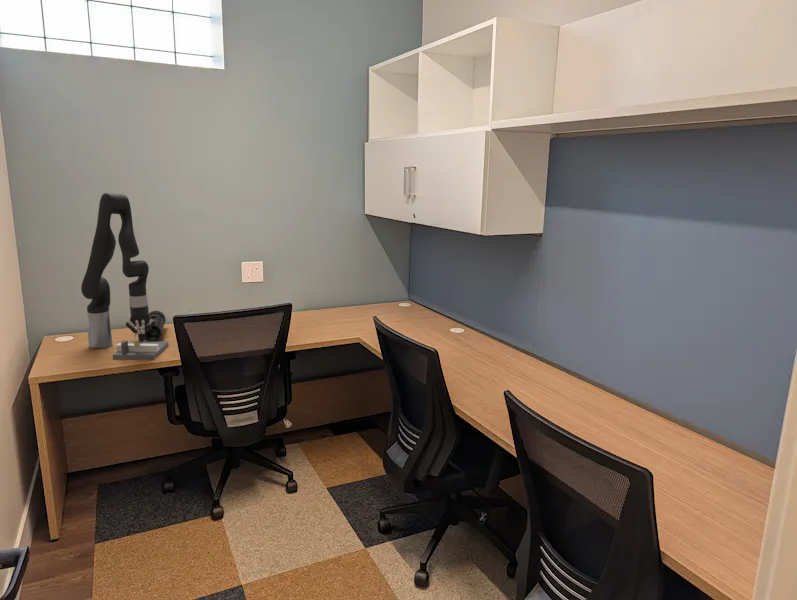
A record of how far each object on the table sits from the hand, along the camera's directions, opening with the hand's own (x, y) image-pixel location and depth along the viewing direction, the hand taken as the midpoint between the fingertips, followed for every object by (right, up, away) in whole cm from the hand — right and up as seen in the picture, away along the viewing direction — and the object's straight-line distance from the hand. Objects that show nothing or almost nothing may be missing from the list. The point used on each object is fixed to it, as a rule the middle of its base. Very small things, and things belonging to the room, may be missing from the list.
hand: (142, 341), depth 258 cm
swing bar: (-4, -1, +3) cm, 5 cm away
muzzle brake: (-8, 0, +31) cm, 32 cm away
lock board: (-3, -6, +7) cm, 9 cm away
